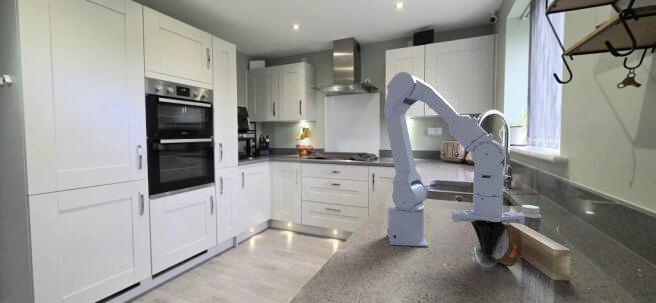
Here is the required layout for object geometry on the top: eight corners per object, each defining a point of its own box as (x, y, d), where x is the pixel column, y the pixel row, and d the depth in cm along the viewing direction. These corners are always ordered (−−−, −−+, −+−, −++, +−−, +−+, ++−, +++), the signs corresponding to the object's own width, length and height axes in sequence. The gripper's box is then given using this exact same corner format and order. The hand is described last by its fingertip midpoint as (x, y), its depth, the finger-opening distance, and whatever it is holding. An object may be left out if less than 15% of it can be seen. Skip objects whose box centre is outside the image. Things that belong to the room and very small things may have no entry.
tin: (514, 274, 53) (531, 236, 52) (498, 267, 54) (514, 230, 53) (486, 244, 68) (498, 214, 67) (473, 239, 69) (485, 210, 68)
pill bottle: (544, 239, 71) (545, 209, 71) (524, 238, 72) (525, 208, 72) (534, 233, 76) (535, 204, 75) (515, 232, 77) (516, 203, 76)
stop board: (552, 279, 51) (553, 249, 51) (491, 234, 75) (492, 213, 75) (569, 280, 51) (570, 250, 51) (502, 234, 75) (503, 214, 74)
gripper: (460, 197, 56) (459, 259, 57) (534, 198, 54) (532, 263, 55) (449, 190, 63) (448, 246, 64) (514, 191, 61) (512, 249, 62)
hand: (486, 253), depth 60 cm, fingers closed
